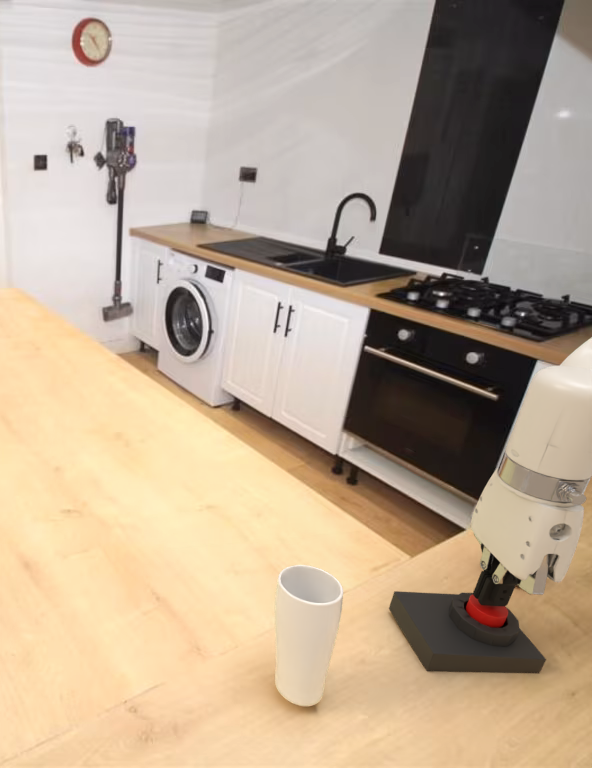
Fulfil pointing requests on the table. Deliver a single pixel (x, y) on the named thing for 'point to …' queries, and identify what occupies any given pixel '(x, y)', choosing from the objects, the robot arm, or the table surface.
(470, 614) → the power button
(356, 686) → the table surface
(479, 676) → the table surface
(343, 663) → the table surface
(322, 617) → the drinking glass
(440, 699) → the table surface
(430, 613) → the power button base
